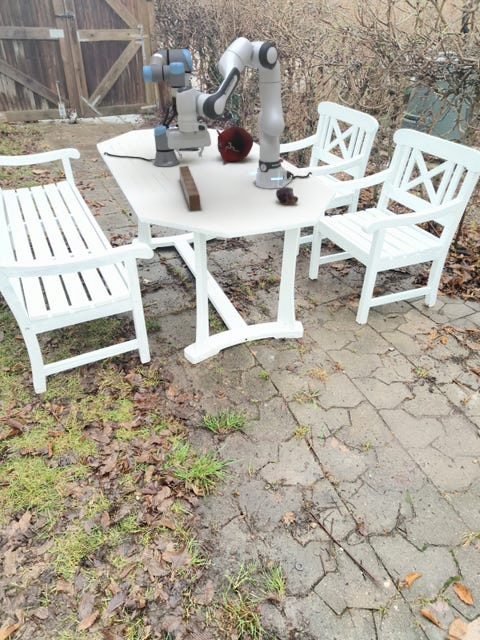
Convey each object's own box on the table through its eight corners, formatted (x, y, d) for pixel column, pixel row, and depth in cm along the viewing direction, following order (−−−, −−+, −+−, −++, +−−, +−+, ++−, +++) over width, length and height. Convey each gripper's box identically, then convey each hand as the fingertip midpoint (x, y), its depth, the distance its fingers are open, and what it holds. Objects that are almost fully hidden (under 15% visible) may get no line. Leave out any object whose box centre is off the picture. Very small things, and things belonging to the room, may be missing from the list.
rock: (287, 200, 238) (271, 203, 234) (287, 184, 235) (271, 186, 231) (300, 203, 229) (283, 206, 225) (300, 186, 225) (283, 189, 221)
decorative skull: (214, 132, 305) (214, 129, 282) (248, 124, 304) (250, 121, 281) (221, 164, 312) (221, 164, 288) (254, 157, 311) (257, 156, 288)
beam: (180, 179, 266) (179, 166, 261) (189, 179, 267) (188, 166, 262) (190, 211, 224) (188, 195, 220) (200, 210, 225) (199, 195, 221)
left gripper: (155, 98, 232) (159, 141, 244) (203, 96, 236) (205, 138, 248) (154, 96, 238) (159, 138, 250) (201, 94, 242) (203, 135, 254)
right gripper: (165, 129, 202) (169, 160, 210) (210, 126, 205) (212, 157, 213) (164, 126, 207) (168, 157, 215) (208, 123, 210) (210, 153, 218)
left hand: (182, 138), depth 249 cm, fingers open, 13 cm apart
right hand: (190, 157), depth 214 cm, fingers open, 8 cm apart
